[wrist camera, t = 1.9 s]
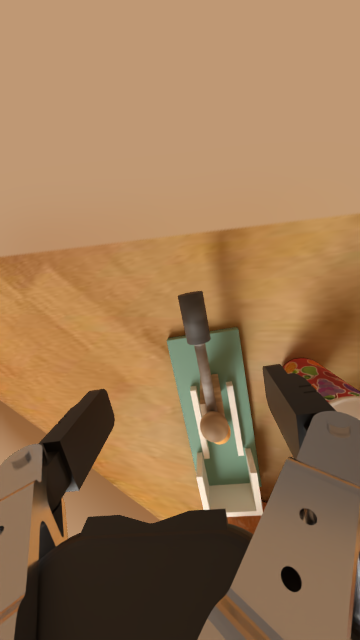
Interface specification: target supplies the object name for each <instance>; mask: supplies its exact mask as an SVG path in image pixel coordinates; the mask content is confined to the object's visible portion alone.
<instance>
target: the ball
mask: <svg viewBox="0 0 360 640" xmlns="http://www.w3.org/2000/svg"><path fill="white" fill-rule="evenodd" d="M228 427H229V425H228ZM230 435H231V430H230V427H229V429H228V434H227V436H226V437H225V439H224V440H222V441H220V442H217V443H216V444H224V443H226V442H227V441H228V440H229V438H230Z"/></svg>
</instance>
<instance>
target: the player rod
mask: <svg viewBox="0 0 360 640" xmlns="http://www.w3.org/2000/svg"><path fill="white" fill-rule="evenodd" d="M178 300H179V305H180V310H181V314H182V319H183V324H184V329H185V334H186V339H187V343H188V344H189V345H194V347H195V352H196V357H197V362H198V367H199V372H200V408H201V413H202V419H201V422H200V430H201V433H202V435H203V436H204V438H205V439H207V440H208V441H210V442H214V443H217V442H220V441H222V440H224V439H225V437H226V436H227V434H228V429H229V427H228V422H227V420H226V418H225V414H224V408H223V402H222V395H221V389H220V384H219V378H218V374H212V375H211V373H210V367H209V362H208V356H207V351H206V345H205V343H207V342H208V341H210V340H211V337H210V331H209V326H208V320H207V315H206V309H205V303H204V298H203V292H202V291H196V292H190V293H185V294H182V295H179V296H178Z"/></svg>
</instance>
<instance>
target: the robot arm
mask: <svg viewBox="0 0 360 640" xmlns="http://www.w3.org/2000/svg"><path fill="white" fill-rule="evenodd" d="M263 376H264V383H265V391H266V398H267V402H268V406H269V408H270V411H271V413H272V415H273V417H274V419H275V421H276V423H277V425H278V427H279V429H280V431H281V433H282V435H283V437H284V439H285V441H286V443H287V445H288V447H289V449H290V451H291V453H292V455H293V457H294V458H292V457H289V458H288V459H287V460H286V462H285V464H284V466H283V468H282V470H281V473H280V475H279V477H278V480H277V482H276V484H275V486H274V489H273V491H272V493H271V496H270V498H269V500H268V502H267V505H266V507H265V509H264V512H263V514H262V516H261V519H260V521H259V523H258V525H257V528H256V530H255V532H254V534H253V533H251V532H249V531H247V530H245V529H243V528H241V527H238V526H236V525H232V524H229V523H228V519H227V515H226V510H225V509H211V510H194V511H187V512H185V513H182V514H179V515H176V516H173V517H170V518H168V519H165V520H162V521H159V522H156V523H151V524H150V523H146V522H142V521H139V520H135V519H132V518H128V517H125V516H121V515H112V516H96V517H88V518H87V520H86V523H85V525H84V527H83V529H82V532H81V533H79V534H77V535H74V536H72V537H70V538H69V539H68V533H67V521H66V510H65V502H64V499H63V495H64V493H65V492H70V491H79V490H80V488H81V486H82V484H83V482H84V480H85V479H86V477H87V475H88V473H89V471H90V469H91V467H92V466H93V464H94V462H95V460H96V458H97V456H98V455H99V453H100V451H101V449H102V447H103V445H104V444H105V442H106V440H107V438H108V436H109V434H110V432H111V431H112V429H113V426H114V421H115V419H114V413H113V410H112V407H111V403H110V400H109V397H108V394H107V391H106V390H105V389H100V390H93V391H89V392H88V393H87V394H86V395H85V396H84V397H83V398H82V400H81V401H80V402H79V403H78V404H76V405H75V406H74V407H72V408H71V409H70V410H69V411H68V412H67V413H66V414H65V415H64V417H63V418H62V419H61V420H60V421H59V422H58V424H56V425H55V426H54V427H53V428H52V430H51V431H50V432H49V433H48V434H47V435H46V436H45V437H44V438H43V439H42V440H41V442H40V443H39V444H32V445H29V446H26V447H24V448H22V449H20V450H18V451H16V452H15V453H13V454H12V455H11V456H9V457H8V458H7V459H6V460H5V461H4V462H3V463H2V464H1V465H0V640H360V420H358V419H357V418H355V417H353V416H351V415H348V414H345V413H342V412H337V411H336V410H335V409H334V408H333V407H332V406H331V405H330V404H329V403H328V402H327V401H326V400H325V399H324V397H323V396H322V395H321V394H320V393H319V392H317V390H316V389H315V388H314V387H313V386H311V384H310V383H309V382H308V381H307V380H306V379H305V378H304V377H302V376H300V375H298V374H296V373H290V374H288V373H287V372H286V371H285V370H284V368H283V367H282V366H281V365H280V364H276V365H269V366H263Z"/></svg>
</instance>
